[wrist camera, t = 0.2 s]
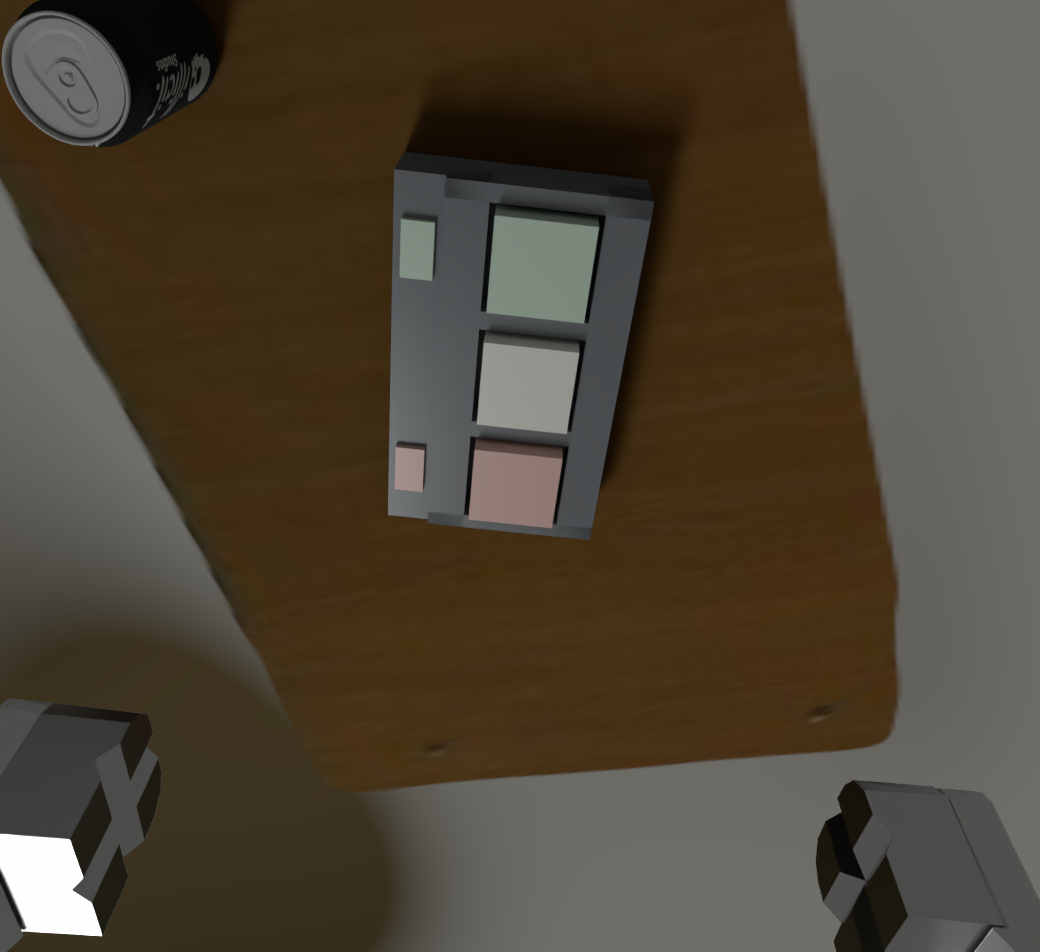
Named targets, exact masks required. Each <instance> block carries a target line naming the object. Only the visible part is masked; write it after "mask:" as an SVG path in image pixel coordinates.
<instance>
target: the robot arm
mask: <svg viewBox="0 0 1040 952" xmlns="http://www.w3.org/2000/svg"><path fill="white" fill-rule="evenodd" d="M152 734H153V731H152V727H151V724H150V720H149V716H148V714H142V713H133V712H125V711H116V710H108V709H99V708H91V707H82V706H74V705H66V704H57V703H50V702H39V701H30V700H20V699H10V698H9V699H8V700H7V701H5V702H4V703H3V704H2V705H0V952H7V950H9V949H10V948H11V947H12V946H13V945H14V944H15V943H16V942H17V941H18V940H20V939H21V938H22V937H23V933H22V931H29V932H46V933H62V934H63V933H64V934H79V935H96V936H102V935H103V934H104V931H105V929H106V927H107V925H108V922H109V920H110V917H111V915H112V913H113V911H114V909H115V906H116V904H117V902H118V900H119V897H120V895H121V893H122V891H123V888H124V886H125V884H126V882H127V879H128V874H127V871H126V867H125V863H124V860H123V857H124V856H125V855H126V854H128V853H129V852H130V851H131V850H133V849H134V848H135V847H136V846H138V845H139V844H140V843H142V842H143V841H144V840H145V838H146V836H147V833H148V830H149V828H150V826H151V823H152V821H153V818H154V816H155V812H156V808H157V804H158V799H159V795H160V791H161V768H160V763H159V758H158V757H157V756H156V755H154V754H153V753H152V752H151V751H150V750H149V749H148V748H146V747H147V745H148V743H149V740H150V738H151V736H152ZM837 799H838V802H839V805H840V809H841V813H839V814H837V815H836V816H834V817H832V818H830V819H828V820H827V821H825V824H824V826H823V828H822V830H821V833H820V835H819V837H818V842H817V853H816V869H817V878H818V883H819V887H820V891H821V895H822V899H823V903H824V904H825V905H826V906H827V907H828V908H829V909H830V910H831V912H832V913H833V914H834V915H835V916H836V917H837V918H838V919H839V921H840V922H841V926H840V928H839V930H838V932H837V934H836V937H835V939H834V945H835V949H836V952H1040V900H1039V898H1038V896H1037V894H1036V892H1035V890H1034V888H1033V886H1032V884H1031V881H1030V880H1029V878H1028V875H1027V873H1026V871H1025V869H1024V867H1023V865H1022V863H1021V861H1020V859H1019V857H1018V855H1017V853H1016V851H1015V849H1014V847H1013V845H1012V843H1011V841H1010V839H1009V836H1008V834H1007V833H1006V830H1005V828H1004V826H1003V824H1002V822H1001V820H1000V818H999V816H998V814H997V812H996V810H995V808H994V806H993V804H992V802H991V801H990V800H989V799H988V798H987V797H986V796H985V795H984V794H983V793H981V792H975V791H965V790H952V789H940V788H934V787H932V786H921V785H920V786H919V785H908V784H896V783H883V782H871V781H858V780H852V781H851V782H849V783H847V784H845V785H844V787H843V789H842V791H841V792H840V794H839V796H838V798H837Z"/></svg>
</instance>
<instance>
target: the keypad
mask: <svg viewBox="0 0 1040 952" xmlns="http://www.w3.org/2000/svg"><path fill="white" fill-rule="evenodd" d="M497 205H504V206H513V207H522V208H530V209H539V210H548V211H557V212H565V213H574V214H583V215H592V216H598V222H599V231H598V237H597V244H596V250H595V257H594V263H593V269H592V276H591V282H590V288H589V295H588V301H587V307H586V314H585V320H584V324H583V323H574V322H565V321H556V320H547V319H538V318H529V317H520V316H511V315H502V314H493V313H486V311H487V300H488V288H489V276H490V265H491V253H492V241H493V230H494V218H495V211H496V206H497ZM653 206H654V199H653V196H652V192H651V189H650V186H649V183H648V180H646V179H638V178H629V177H620V176H612V175H603V174H594V173H586V172H577V171H568V170H560V169H551V168H542V167H534V166H525V165H516V164H508V163H499V162H490V161H482V160H473V159H464V158H456V157H447V156H438V155H430V154H421V153H412V152H404V153H403V155H402V157H401V159H400V160H399V162H398V164H397V165H396V167H395V169H394V213H393V269H392V324H391V380H390V435H389V491H388V515H394V516H403V517H413V518H423V519H428V523H430V524H440V525H450V526H459V527H469V528H479V529H488V530H498V531H508V532H517V533H527V534H537V535H546V536H556V537H566V538H576V539H585V540H590V535H591V530H592V525H593V520H594V515H595V509H596V504H597V499H598V494H599V488H600V483H601V478H602V473H603V468H604V462H605V457H606V452H607V447H608V441H609V436H610V431H611V426H612V421H613V415H614V410H615V405H616V400H617V394H618V389H619V384H620V379H621V374H622V368H623V363H624V358H625V353H626V347H627V342H628V337H629V332H630V327H631V321H632V316H633V311H634V306H635V300H636V295H637V290H638V285H639V280H640V274H641V269H642V264H643V259H644V253H645V248H646V243H647V238H648V232H649V227H650V222H651V217H652V212H653ZM486 330H491V331H501V332H510V333H519V334H528V335H537V336H546V337H555V338H564V339H573V340H579V358H578V365H577V371H576V377H575V384H574V390H573V396H572V403H571V409H570V415H569V422H568V428H567V434H561V433H551V432H542V431H533V430H523V429H514V428H505V427H495V426H486V425H477V416H478V404H479V393H480V381H481V369H482V358H483V346H484V338H485V332H486ZM476 437H482V438H491V439H501V440H510V441H519V442H529V443H538V444H548V445H557V446H563V460H562V466H561V473H560V479H559V485H558V492H557V498H556V504H555V511H554V517H553V523H552V528H545V527H535V526H525V525H516V524H506V523H496V522H487V521H477V520H469V509H470V497H471V486H472V474H473V462H474V451H475V444H476Z"/></svg>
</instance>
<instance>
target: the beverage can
mask: <svg viewBox="0 0 1040 952" xmlns="http://www.w3.org/2000/svg"><path fill="white" fill-rule="evenodd" d="M216 66H217V50H216V43H215V39H214V36H213V33H212V30H211V28H210V25H209V23H208V21H207V20H206V18H205V16H204V15H203V13H202V12H201V10H200V9H199V8H198V6H197V5H196V4H195V3H194V2H193V1H192V0H39V1H37V2H35V3H33V4H32V5H30V6H29V7H28V8H27V9H26V10H25V11H24V12H23V13H22V14H21V15H20V16H19V18H18V20H17V21H16V23H15V24H14V25H13V26H12V28H11V29H10V30H9V32H8V34H7V36H6V38H5V41H4V45H3V49H2V67H3V73H4V77H5V81H6V84H7V86H8V89H9V91H10V93H11V95H12V97H13V99H14V101H15V102H16V104H17V105H18V107H19V108H20V110H21V111H22V112H23V113H24V114H25V116H26V117H27V118H28V119H29V120H30V121H31V122H32V123H33V124H34V125H35V126H37V127H38V128H39V129H41V130H42V131H43V132H45V133H46V134H48V135H50V136H52V137H53V138H55V139H58V140H60V141H62V142H66V143H69V144H74V145H82V146H93V147H110V146H115V145H118V144H121V143H123V142H125V141H127V140H129V139H131V138H132V137H134V136H136V135H137V134H139V133H141V132H143V131H144V130H146V129H148V128H150V127H151V126H153V125H155V124H156V123H158V122H160V121H162V120H163V119H165V118H167V117H168V116H170V115H172V114H174V113H175V112H177V111H179V110H180V109H182V108H184V107H186V106H187V105H189V104H191V103H192V102H194V101H196V100H197V99H199V98H200V97H201V96H202V95H203V94H204V93H205V92H206V91H207V90H208V88H209V87H210V85H211V83H212V81H213V78H214V75H215V72H216Z"/></svg>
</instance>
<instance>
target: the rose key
mask: <svg viewBox="0 0 1040 952" xmlns="http://www.w3.org/2000/svg"><path fill="white" fill-rule="evenodd" d="M562 460H563V446H557V445H548V444H538V443H529V442H519V441H510V440H501V439H491V438H482V437H476V444H475V451H474V462H473V474H472V486H471V497H470V509H469V520H477V521H487V522H496V523H506V524H516V525H525V526H535V527H545V528H552V523H553V517H554V511H555V504H556V498H557V492H558V485H559V479H560V473H561V466H562Z"/></svg>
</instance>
